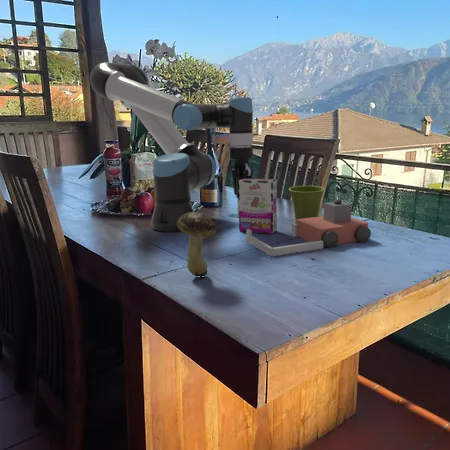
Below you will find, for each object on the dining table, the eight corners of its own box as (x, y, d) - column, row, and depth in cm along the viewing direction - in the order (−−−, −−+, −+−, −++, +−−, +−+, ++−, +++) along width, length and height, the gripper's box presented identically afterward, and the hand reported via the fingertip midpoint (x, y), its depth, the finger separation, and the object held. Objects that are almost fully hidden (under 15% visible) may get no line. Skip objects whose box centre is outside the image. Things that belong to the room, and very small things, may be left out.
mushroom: (179, 271, 108) (176, 210, 105) (215, 269, 109) (214, 208, 105) (179, 286, 99) (176, 219, 95) (218, 284, 100) (216, 218, 96)
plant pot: (297, 215, 161) (298, 184, 158) (329, 219, 154) (330, 187, 151) (281, 223, 151) (282, 189, 149) (314, 227, 145) (315, 193, 142)
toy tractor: (271, 256, 117) (271, 215, 114) (244, 240, 132) (244, 203, 129) (371, 241, 129) (373, 203, 126) (336, 227, 144) (337, 193, 141)
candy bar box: (277, 230, 142) (277, 178, 138) (272, 234, 138) (273, 181, 133) (243, 227, 146) (243, 177, 142) (238, 231, 142) (237, 179, 138)
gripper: (260, 147, 142) (260, 220, 148) (243, 144, 153) (244, 212, 159) (238, 148, 139) (239, 222, 145) (223, 145, 151) (224, 214, 157)
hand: (242, 217), depth 152 cm, fingers closed
